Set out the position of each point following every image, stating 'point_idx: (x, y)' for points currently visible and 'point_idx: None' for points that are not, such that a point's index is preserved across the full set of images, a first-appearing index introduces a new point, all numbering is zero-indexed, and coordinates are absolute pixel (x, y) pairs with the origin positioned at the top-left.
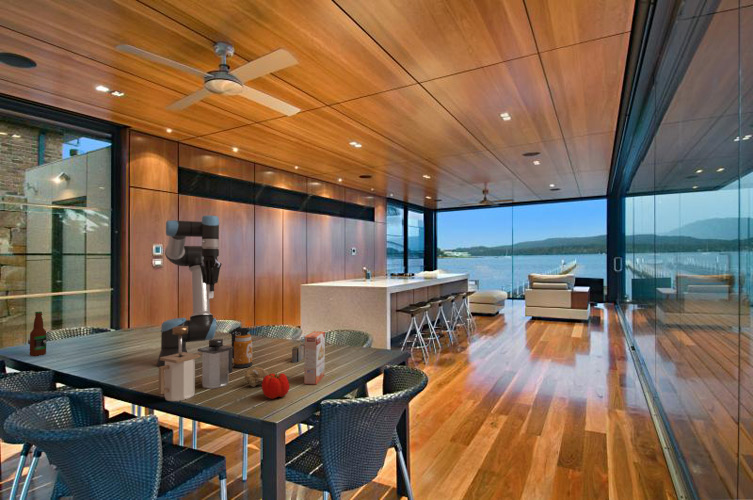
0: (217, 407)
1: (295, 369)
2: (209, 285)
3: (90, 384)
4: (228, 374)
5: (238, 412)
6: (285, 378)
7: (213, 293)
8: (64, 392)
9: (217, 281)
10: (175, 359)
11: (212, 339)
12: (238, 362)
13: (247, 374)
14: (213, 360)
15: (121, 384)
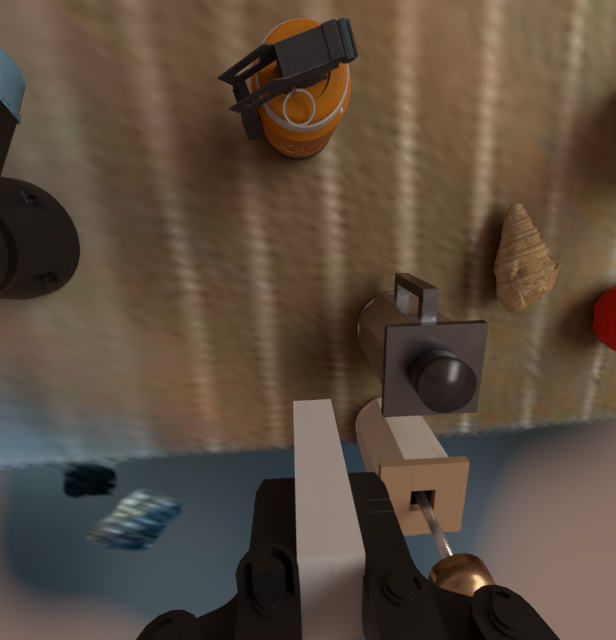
0: (521, 420)
1: (523, 41)
2: (359, 607)
3: (89, 484)
4: (416, 297)
5: (583, 415)
6: None
7: (337, 433)
8: (116, 533)
9: (542, 625)
10: (445, 526)
11: (425, 388)
12: (311, 154)
13: (521, 309)
14: None
15: (157, 446)
